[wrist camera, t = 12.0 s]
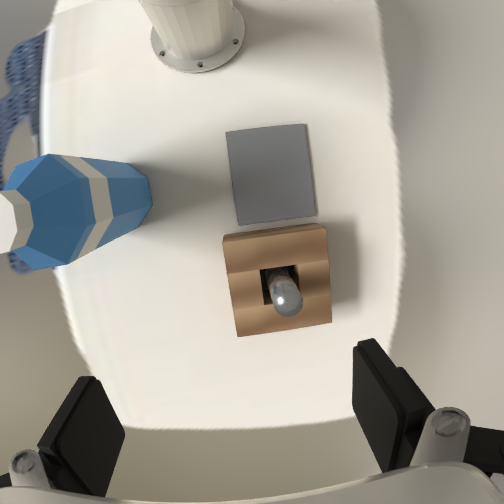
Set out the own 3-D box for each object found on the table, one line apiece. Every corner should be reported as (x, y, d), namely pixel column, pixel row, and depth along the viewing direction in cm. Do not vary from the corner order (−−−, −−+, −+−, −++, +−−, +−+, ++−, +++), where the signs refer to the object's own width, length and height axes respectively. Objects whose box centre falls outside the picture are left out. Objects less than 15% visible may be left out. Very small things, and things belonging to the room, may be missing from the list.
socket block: (223, 235, 42) (222, 242, 37) (315, 222, 42) (325, 228, 37) (237, 320, 44) (237, 337, 39) (322, 307, 44) (332, 322, 40)
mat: (225, 132, 39) (225, 132, 38) (303, 124, 39) (304, 123, 39) (238, 225, 41) (238, 225, 41) (314, 215, 42) (315, 215, 41)
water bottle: (111, 245, 41) (-4, 316, 17) (78, 188, 39) (-57, 206, 15) (166, 208, 40) (75, 247, 16) (130, 148, 39) (12, 119, 14)
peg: (263, 264, 43) (272, 291, 32) (285, 260, 43) (302, 287, 32) (266, 285, 43) (275, 319, 33) (288, 282, 43) (304, 314, 33)
